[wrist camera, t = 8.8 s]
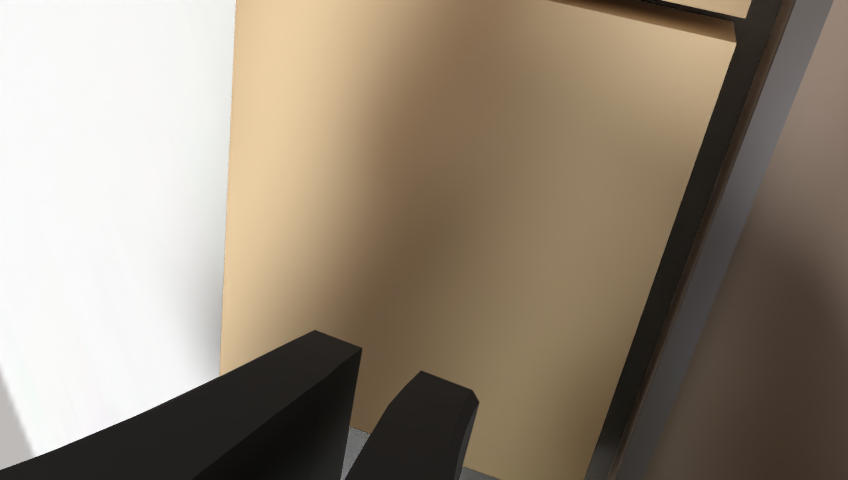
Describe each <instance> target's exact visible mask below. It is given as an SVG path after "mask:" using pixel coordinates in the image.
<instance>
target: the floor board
mask: <svg viewBox="0 0 848 480" xmlns="http://www.w3.org/2000/svg"><path fill="white" fill-rule="evenodd" d="M606 480H848V0H782V3H781V6H780V8H779V11H778V14H777V16H776V19H775V22H774V25H773V27H772V30H771V33H770V35H769V38H768V41H767V44H766V46H765V49H764V52H763V54H762V57H761V60H760V63H759V65H758V68H757V71H756V73H755V76H754V79H753V82H752V84H751V87H750V90H749V92H748V95H747V98H746V101H745V103H744V106H743V109H742V111H741V114H740V117H739V120H738V122H737V125H736V128H735V131H734V133H733V136H732V139H731V141H730V144H729V147H728V150H727V152H726V155H725V158H724V160H723V163H722V166H721V169H720V171H719V174H718V177H717V179H716V182H715V185H714V188H713V190H712V193H711V196H710V198H709V201H708V204H707V207H706V209H705V212H704V215H703V217H702V220H701V223H700V226H699V228H698V231H697V234H696V236H695V239H694V242H693V245H692V247H691V250H690V253H689V255H688V258H687V261H686V264H685V266H684V269H683V272H682V274H681V277H680V280H679V283H678V285H677V288H676V291H675V293H674V296H673V299H672V302H671V304H670V307H669V310H668V312H667V315H666V318H665V321H664V323H663V326H662V329H661V331H660V334H659V337H658V340H657V342H656V345H655V348H654V350H653V353H652V356H651V359H650V361H649V364H648V367H647V370H646V372H645V375H644V378H643V380H642V383H641V386H640V389H639V391H638V394H637V397H636V399H635V402H634V405H633V408H632V410H631V413H630V416H629V418H628V421H627V424H626V427H625V429H624V432H623V435H622V437H621V440H620V443H619V446H618V448H617V451H616V454H615V456H614V459H613V462H612V465H611V467H610V470H609V473H608V475H607V478H606Z"/></svg>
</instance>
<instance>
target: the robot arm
mask: <svg viewBox="0 0 848 480" xmlns="http://www.w3.org/2000/svg"><path fill="white" fill-rule="evenodd" d="M362 349H363V348H361V347H359V346H356V345H354V344H351V343H348V342H346V341H343V340H340V339H338V338H335V337H333V336H330V335H327V334H325V333H322V332H319V331H317V330H313V331H311V332H309V333H307V334H305V335H303V336H301V337H299V338H296V339H294V340H292V341H290V342H288V343H286V344H284V345H282V346H280V347H278V348H276V349H274V350H272V351H270V352H268V353H266V354H264V355H262V356H260V357H258V358H256V359H254V360H252V361H250V362H248V363H246V364H244V365H242V366H240V367H238V368H236V369H234V370H232V371H230V372H228V373H226V374H223V375H221V376H219V377H217V378H215V379H213V380H211V381H209V382H207V383H205V384H203V385H201V386H199V387H197V388H194V389H192V390H190V391H188V392H186V393H184V394H182V395H180V396H177V397H175V398H173V399H171V400H169V401H167V402H165V403H163V404H160V405H158V406H156V407H154V408H152V409H150V410H148V411H145V412H143V413H141V414H139V415H137V416H134V417H132V418H130V419H127V420H125V421H123V422H120V423H118V424H115V425H113V426H111V427H108V428H106V429H103V430H101V431H99V432H96V433H94V434H92V435H89V436H87V437H84V438H82V439H80V440H77V441H75V442H73V443H70V444H68V445H65V446H63V447H61V448H58V449H56V450H53V451H51V452H48V453H45V454H43V455H40V456H37V457H35V458H32V459H30V460H27V461H24V462H21V463H19V464H16V465H13V466H11V467H8V468H5V469H2V470H0V480H340V478H341V473H342V467H343V461H344V455H345V449H346V443H347V437H348V431H349V425H350V419H351V414H352V408H353V402H354V396H355V390H356V384H357V378H358V372H359V366H360V361H361V355H362ZM479 403H480V402H479V400H478V398H477V397H476V395H475V393H474V392H473V390H471V389H469V388H466V387H463V386H461V385H458V384H456V383H453V382H450V381H448V380H445V379H443V378H440V377H437V376H435V375H432V374H429V373H427V372H424V371H422V370H421V371H420V372H419V373H418V374H417V375H416V376H415V377H414V378H413V379H412V380H411V381H410V382H408V383H407V384H406V385H405V386H404V388H403V389H402V390H401V391H400V392H399V393H398V394H397V395H396V397H395V398H394V399H393V400H392V401H391V402H390V403H389V405H388V406H387V408H386V410H385V411H384V413H383V414H382V416H381V418H380V420H379V421H378V423H377V425H376V426H375V428H374V430H373V431H372V433H371V435H370V437H369V438H368V440H367V442H366V443H365V445H364V447H363V449H362V450H361V452H360V454H359V456H358V457H357V459H356V461H355V462H354V464H353V466H352V468H351V469H350V471H349V473H348V475H347V476H346V478H345V480H459V477H460V473H461V470H462V466H463V462H464V459H465V455H466V451H467V447H468V444H469V440H470V436H471V433H472V429H473V425H474V421H475V418H476V414H477V410H478V406H479Z"/></svg>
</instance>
